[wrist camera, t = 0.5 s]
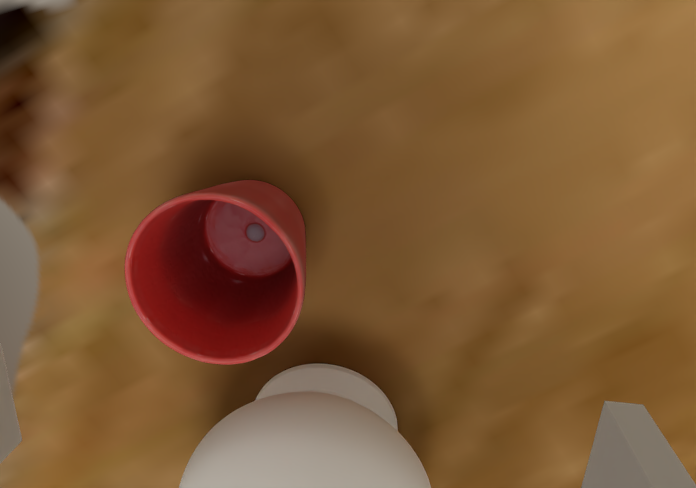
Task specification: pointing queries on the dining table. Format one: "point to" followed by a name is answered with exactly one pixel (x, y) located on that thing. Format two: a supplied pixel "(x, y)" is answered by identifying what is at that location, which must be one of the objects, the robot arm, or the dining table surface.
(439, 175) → the dining table surface
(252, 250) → the flower pot
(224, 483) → the decorative vase
